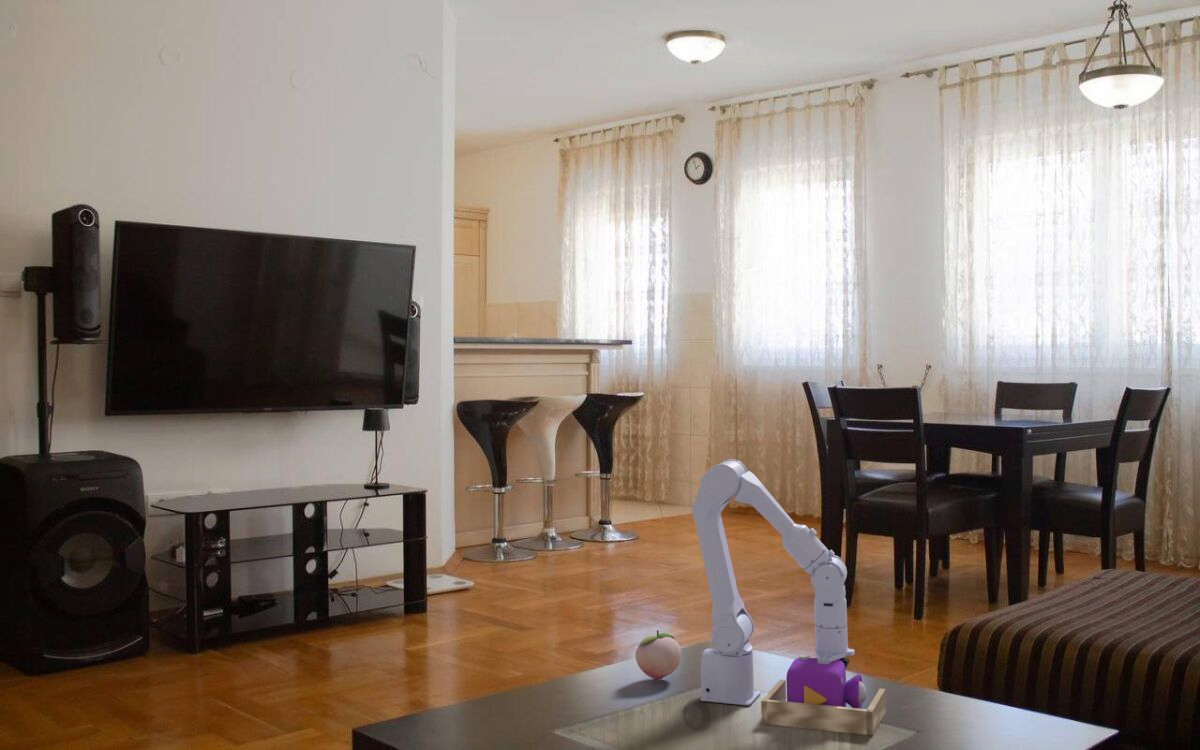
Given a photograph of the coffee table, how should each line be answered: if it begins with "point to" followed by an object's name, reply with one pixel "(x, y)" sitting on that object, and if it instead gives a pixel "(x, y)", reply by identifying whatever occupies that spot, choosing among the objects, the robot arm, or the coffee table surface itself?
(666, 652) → the decorative fruit
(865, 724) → the wooden tray
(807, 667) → the toy camera
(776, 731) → the coffee table surface
